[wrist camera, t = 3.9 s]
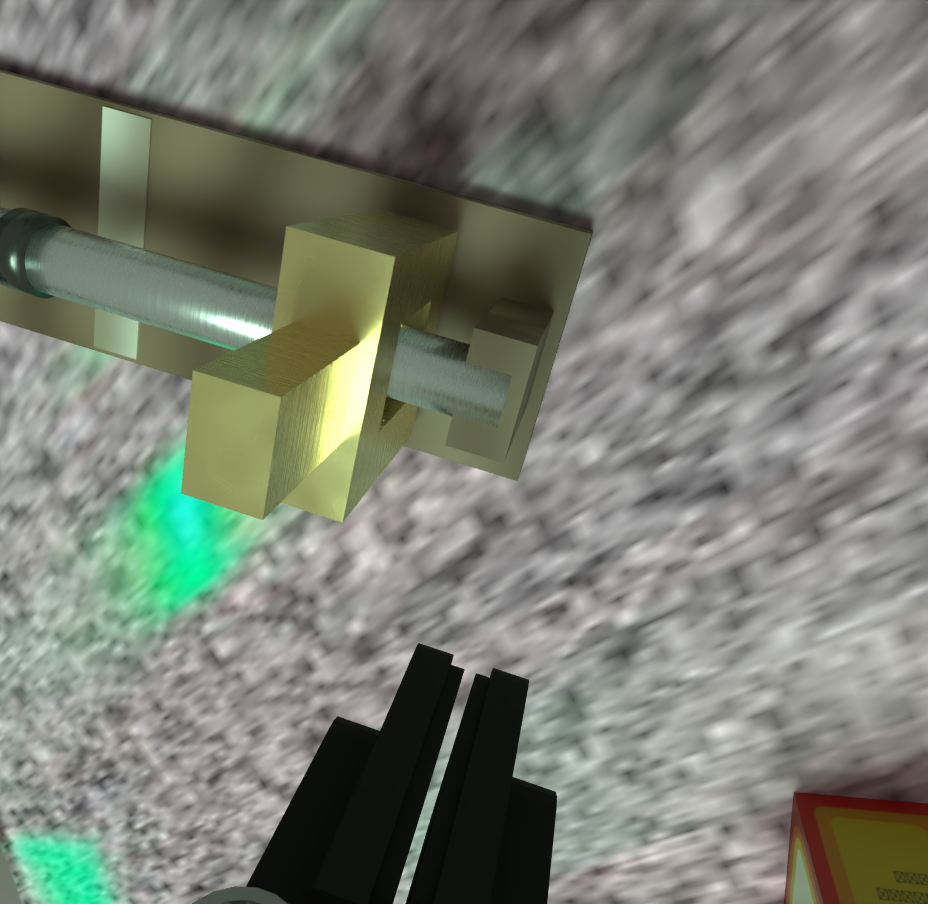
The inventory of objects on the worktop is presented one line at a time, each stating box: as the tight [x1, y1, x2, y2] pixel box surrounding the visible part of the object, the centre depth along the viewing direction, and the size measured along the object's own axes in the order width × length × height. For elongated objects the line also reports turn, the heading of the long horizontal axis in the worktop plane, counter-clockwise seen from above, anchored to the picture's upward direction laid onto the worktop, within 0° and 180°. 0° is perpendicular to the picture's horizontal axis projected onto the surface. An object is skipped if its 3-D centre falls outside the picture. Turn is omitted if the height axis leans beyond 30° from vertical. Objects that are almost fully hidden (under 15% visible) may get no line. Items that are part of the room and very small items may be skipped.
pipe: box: [0, 207, 512, 428], centre depth 25 cm, size 24×3×3 cm, turn 76°
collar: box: [181, 209, 458, 522], centre depth 22 cm, size 3×8×13 cm, turn 166°
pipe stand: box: [0, 69, 593, 481], centre depth 27 cm, size 26×10×7 cm, turn 76°
